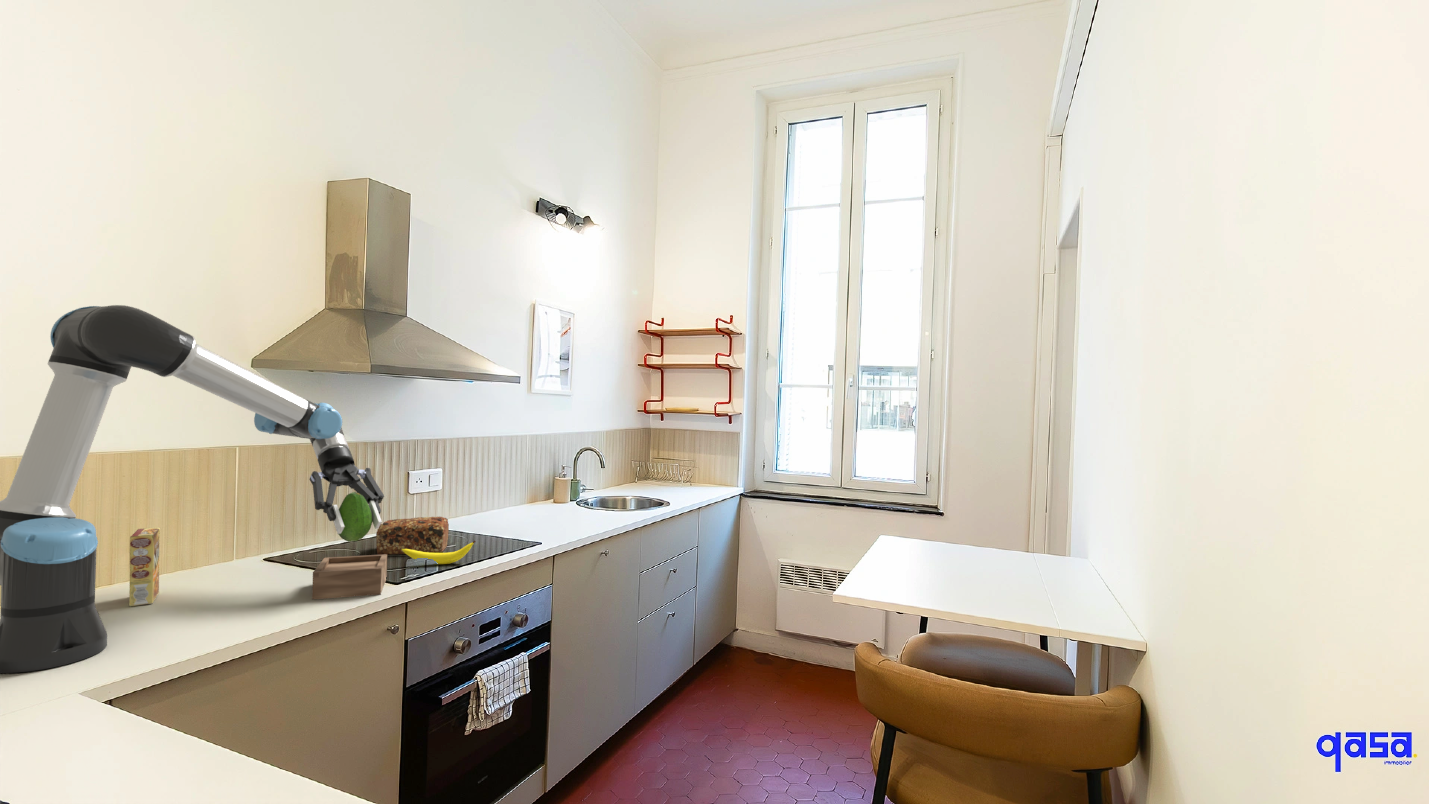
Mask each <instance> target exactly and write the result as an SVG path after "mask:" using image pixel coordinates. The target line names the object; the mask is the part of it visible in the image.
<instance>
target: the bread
mask: <svg viewBox="0 0 1429 804" xmlns="http://www.w3.org/2000/svg"><path fill="white" fill-rule="evenodd" d="M376 530H377V531H376V533H375V534H376V535H375V539H376V541H375V545H376V553H377V555H384V554H387V555H406V554H405V553H404V552H403V551H402V549H410V550H416V551H421V552H429V553H444V552H445V550H446V548H447V546H448V540H449V531H450V528H449V519H448V518H447V517H443V516H427V517H426V516H422V517H421V516H419V517H412V518H396V519H389V520H386V521H384V522H382V523H381V524H380V526H379V528H377V529H376Z"/></svg>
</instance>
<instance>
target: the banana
mask: <svg viewBox="0 0 1429 804" xmlns="http://www.w3.org/2000/svg"><path fill="white" fill-rule="evenodd" d="M475 543H476V540H473V541H472V542H470V543H468V544H466V545H465V546H463V547H462V548H460V549H458V550H456V551H451V552H449V551H448V552H436V553H429V552H421V551H416V550H410V549H402V551H403V552H404V553H405V554H404V555H407V556H408V557H410V558H412V559H413V560H415V559H417V558H428V559H433V560H434V561H436V562H437V563H438V564H437V565H449V564H450V565H451V564H453V563H456V562H458V561H461V559H462V558H464V557H465V556H466V555H467V554H468V552H469V551H470V550H471V549H472V547H473V545H474V544H475Z"/></svg>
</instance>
